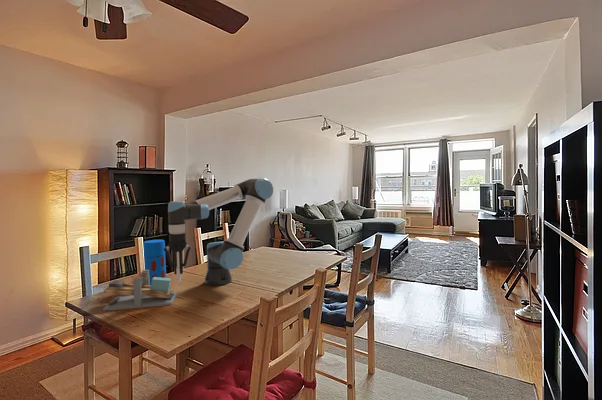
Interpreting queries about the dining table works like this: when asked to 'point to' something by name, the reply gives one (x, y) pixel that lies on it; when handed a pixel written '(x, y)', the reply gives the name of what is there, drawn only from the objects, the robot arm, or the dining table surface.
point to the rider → (160, 284)
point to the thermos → (155, 258)
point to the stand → (139, 298)
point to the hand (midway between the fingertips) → (178, 280)
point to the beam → (128, 289)
